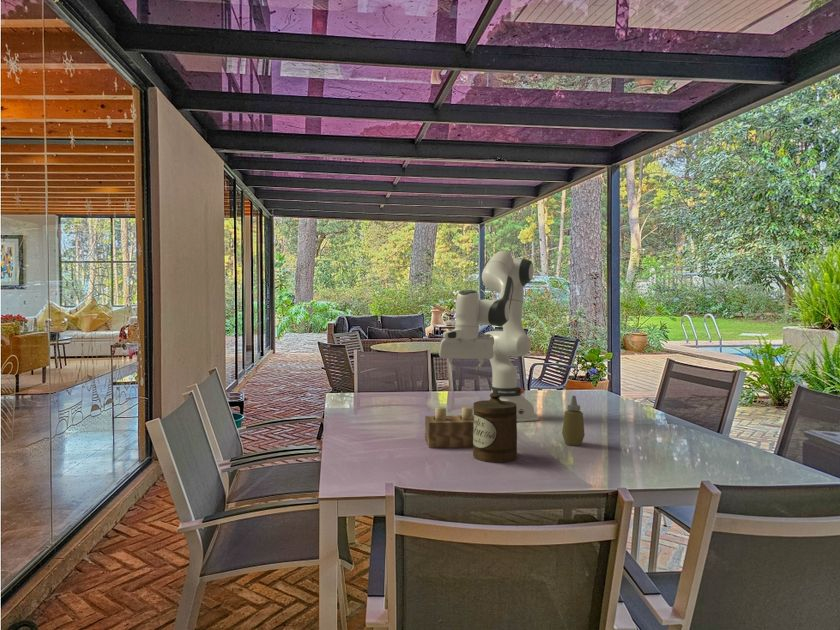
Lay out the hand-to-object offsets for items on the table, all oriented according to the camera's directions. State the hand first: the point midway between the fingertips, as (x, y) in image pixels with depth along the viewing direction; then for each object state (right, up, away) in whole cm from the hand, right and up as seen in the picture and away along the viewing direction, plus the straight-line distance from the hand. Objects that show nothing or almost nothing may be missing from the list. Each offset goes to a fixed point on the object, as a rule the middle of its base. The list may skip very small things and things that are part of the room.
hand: (465, 370), depth 216 cm
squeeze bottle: (+40, -27, -1) cm, 48 cm away
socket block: (-5, -27, -1) cm, 27 cm away
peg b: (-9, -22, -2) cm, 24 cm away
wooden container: (+8, -28, -19) cm, 34 cm away
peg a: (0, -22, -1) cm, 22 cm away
